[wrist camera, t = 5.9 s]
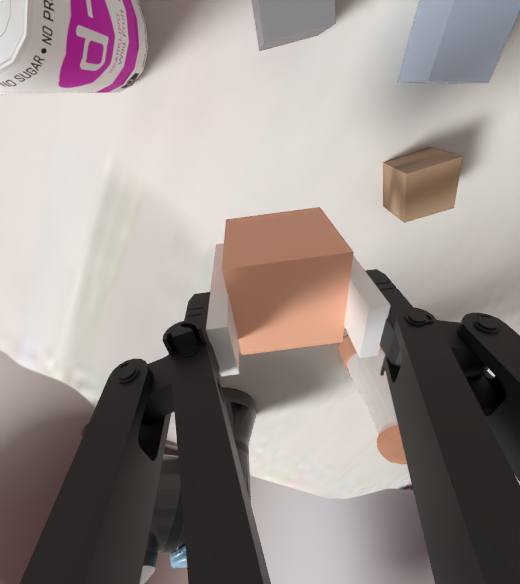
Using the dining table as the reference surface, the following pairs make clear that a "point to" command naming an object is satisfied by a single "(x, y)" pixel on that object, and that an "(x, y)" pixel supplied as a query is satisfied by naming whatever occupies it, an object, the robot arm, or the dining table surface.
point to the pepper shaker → (375, 398)
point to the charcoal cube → (291, 20)
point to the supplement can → (71, 45)
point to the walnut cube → (421, 183)
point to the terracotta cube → (286, 280)
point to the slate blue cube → (457, 40)
